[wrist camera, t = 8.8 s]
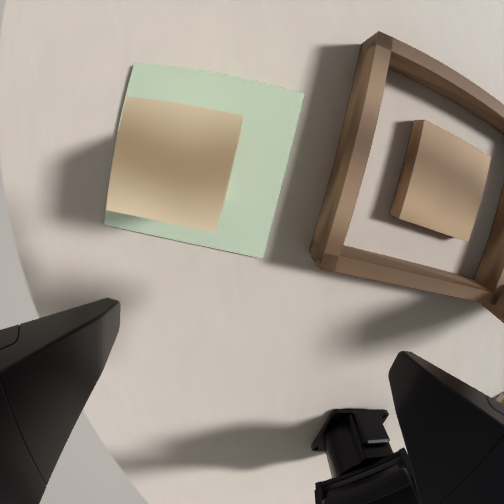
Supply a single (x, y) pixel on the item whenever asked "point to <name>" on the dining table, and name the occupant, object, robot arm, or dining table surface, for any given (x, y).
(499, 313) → the wooden block structure
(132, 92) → the green mat
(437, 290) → the wooden rectangular frame
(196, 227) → the beech block
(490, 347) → the dining table surface
